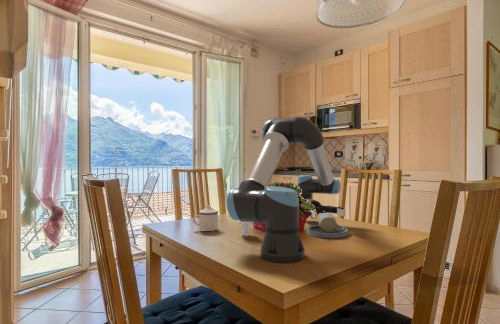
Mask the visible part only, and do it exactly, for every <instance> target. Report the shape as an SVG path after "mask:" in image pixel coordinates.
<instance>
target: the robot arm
mask: <svg viewBox="0 0 500 324" xmlns="http://www.w3.org/2000/svg"><path fill="white" fill-rule="evenodd" d="M261 137H262V140H263V146H262V149H261V150H260V152H259V155H258V156H257V159H256V160H255V161H254V162H255V163H254V164H253V166H252V168H251V171H250V173H249V175H248V177H247V178H246V179H244V180H242V181H241V182H240V184H239V186H238V188H231V189H230V190H229V191H228V193H227V196H226V209H227V211H226V212H227V213H228V215H229V217H230V218H231V219H232V220H234V221H237V220H238V221H241V222H243V221H247V222H253V223H257V224H264V231H265V232H264V236H263V240H262V242H261V245H260V251H259V252H260V257H261V258H262V259H263V260H265V261H269V262H273V263H282V264H283V263H285V264H286V263H293V262H294V263H295V262H300V261H302V260H304V259H305V257H306V251H305V247H304V243H303V241H302V238H301V237H302V236H301V235H300V209H299V198H298V191H297V190H296V189H292V188H289V187H285V186H275V185H270V184H271V181H272V179H273V176H274V174H275V171H276V168H277V166H278V165H279V161H280V160H281V157H282V154H283V152H286V151H287V150H288V149H289V148H290V145H295V144H301V145H302V147H303V148H304V150H306V151H307V153H308V156H309V159H310V162H311V164H312V167H313V170H314V172H315V175H316V178H313V176H312V174H311V175H309V174H307V175H306V174H301V175H298V177H297V187H298V186H299V187H300V188H301V189H302V194H301V196H302V197H303V198H304V199H306V200H308V201H309V202H310V203H311V204H313V205H314V206H315V209H316V211H317V215H316V212H315V211H313V210H310V211H309V212H308V211H307V216H306V215H305V218H309V217H312V218H313V219H317V216H319V214H323V213H330V214H336V215H338V216H341V217H344V218H346V210H345V209H344V207H341V206H333V205H322V204H321V203H320V201H318V200H315V199H313V194H322V195H323V194H325V195H326V194H327V195H338V194H339V193H340V192H341V189H342V187H341V181H340V179H336V178H334V176H333V172H332V168H331V166H330V162H329V160H328V156H327V153H326V149H325V147H324V146H325V145H324V143H325V138H324V136H323V133H322V131H321V130H320V128H319V127H318V126H317V125H316V124H315V123H314V122H313V121H311V120H310V119H309V118H306V117H303V116H295V117H283V118H281V117H280V118H273V119H269V120H267V121H265V123H264V124H263V126H262V132H261ZM308 215H309V216H308Z"/></svg>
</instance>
